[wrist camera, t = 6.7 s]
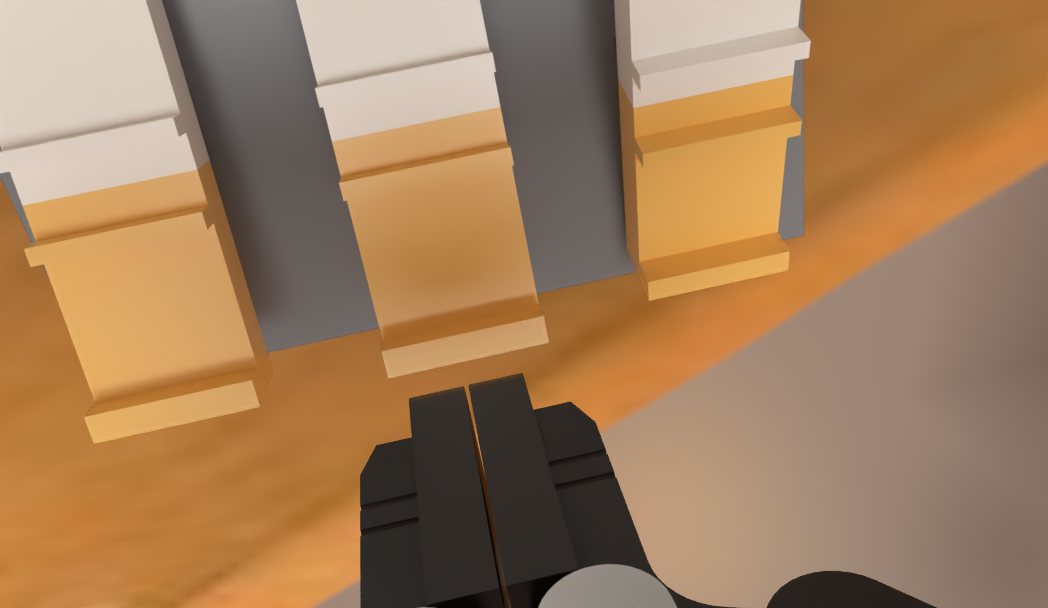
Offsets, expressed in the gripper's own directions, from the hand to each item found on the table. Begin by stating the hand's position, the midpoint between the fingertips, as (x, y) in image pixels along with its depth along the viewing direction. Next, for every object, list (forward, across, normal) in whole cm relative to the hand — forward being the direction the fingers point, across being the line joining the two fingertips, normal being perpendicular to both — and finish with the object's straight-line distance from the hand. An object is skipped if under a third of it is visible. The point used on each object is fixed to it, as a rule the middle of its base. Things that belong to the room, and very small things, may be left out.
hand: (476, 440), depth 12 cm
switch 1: (+6, +5, -2) cm, 8 cm away
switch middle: (+6, 0, -2) cm, 7 cm away
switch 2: (+6, -5, -3) cm, 8 cm away
